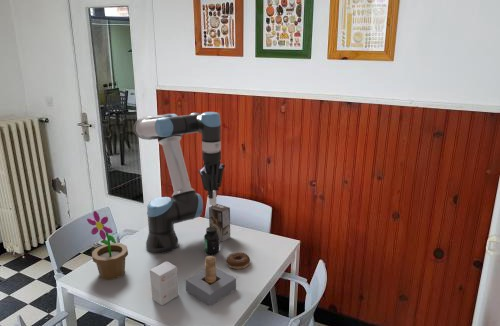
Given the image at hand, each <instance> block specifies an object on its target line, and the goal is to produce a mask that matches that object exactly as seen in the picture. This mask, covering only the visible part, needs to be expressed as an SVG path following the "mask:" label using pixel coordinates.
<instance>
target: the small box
mask: <svg viewBox="0 0 500 326" xmlns="http://www.w3.org/2000/svg"><path fill="white" fill-rule="evenodd" d="M149 276H150V277H149V278H150V286H151V287H150V288H151V296H152V297H151V298H152V300H153V301H155V302H156V303H158V304H159V305H161V306H163V305H166V304H167V303H169V302H170V301H172V300H173V299H175V298H177V297H179V282H178V267H177V266H176V265H174V264H172V263H170V262H169V261H164V262H162V263H161V264H158V265H156V266H154V267H153V268H151V269H149Z"/></svg>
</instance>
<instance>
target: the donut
mask: <svg viewBox="0 0 500 326" xmlns="http://www.w3.org/2000/svg"><path fill="white" fill-rule="evenodd" d="M225 261H226V265H227V266H228V267H230V268H231V269H234V270H241V269H244V268H247V267H248V266H249V264H250V262H251V258H250V256H249V255H248V254H247V253H246V252H242V251H237V252H233V253H230V254H229V255H228V256H227V257H226V260H225Z"/></svg>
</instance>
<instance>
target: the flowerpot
mask: <svg viewBox="0 0 500 326" xmlns="http://www.w3.org/2000/svg"><path fill="white" fill-rule="evenodd" d="M92 216H93V218H90V217H89V218H87V219H86V221H87V223H88V224H89V225H91V226H94V227H93V228H92V229H91V232H90V233H91V235H96V234H97V233H98V232H99V233H98V234H99V236H100V239H101V240H100V243H101V244H102V245H100V246H98V247H97V246H96V248H95V249H94V250H92V252H91V257H92V259H91V260H92V262H94V263H95V265H96V267H97V270H98V274H99V277H100V278H102V279H103V280H115V279H117V278H120V277H121V276H123V274H124V273H125V272H126V258H127V256H128V255H129V250H128V246H127V245H126V244H123V243H121V242H117V240H116V239H115V237H114V236H113V235H111V234H113V230H112V229H111V227H109V226H108V225H106V224H107V223H108V222H109V217H108V216H103V217H102V218H100V215H99V213H98V212H97V210H94V211H93V215H92Z"/></svg>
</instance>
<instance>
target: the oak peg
mask: <svg viewBox="0 0 500 326" xmlns="http://www.w3.org/2000/svg"><path fill="white" fill-rule="evenodd" d="M216 265H217V264H216V257H215V256H214V255H207V256H206V257H205V259H204V267H205V268H204V269H205V273H206V278H205V281H206V283H208V284H210V285H211V284H213V283H215V282H216V268H217V267H216Z"/></svg>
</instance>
